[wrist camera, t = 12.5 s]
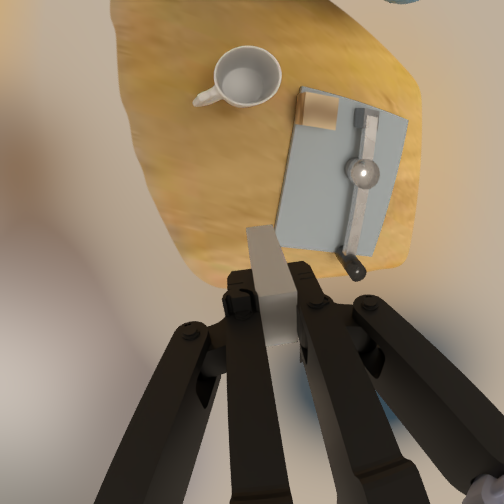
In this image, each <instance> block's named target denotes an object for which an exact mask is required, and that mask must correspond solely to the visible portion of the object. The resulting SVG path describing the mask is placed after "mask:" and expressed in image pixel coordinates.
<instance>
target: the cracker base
mask: <svg viewBox="0 0 504 504" xmlns="http://www.w3.org/2000/svg"><path fill="white" fill-rule="evenodd" d="M303 92H311V93H316V94H321V95H327V96H331V97H336V98H339V105H338V114H337V122H336V130H330V129H324V128H318V127H311V126H305V125H298V124H295V120H294V126H293V132H292V137H291V143H290V148H289V154H288V159H287V164H286V170H285V175H284V180H283V186H282V191H281V196H280V201H279V207H278V212H277V217H276V222H275V227H274V231H275V233H276V236H277V239H278V241H279V244H280V247H289V248H298V249H307V250H317V251H326V252H335V253H336V250H337V248H338V247H340V246H342V245H344V241H345V236H346V231H347V226H348V221H349V215H350V209H351V204H352V197H353V191H354V184H353V183H352V182H351V181H350V180H349V177H348V167H349V165H350V163H351V162H352V161H353V160H354V159H356V158H359V150H360V142H361V133H362V128H357V127H354V119H355V108H368V109H372V110H376V111H380V114H379V124H378V131H377V133H376V141H375V150H374V157H373V161H374V162H375V163H376V164H377V165H378V167H379V170H380V178H379V181H378V183H377V184H376V185H375V186H374V187H373V188H371V189H369V192H368V198H367V203H366V209H365V214H364V219H363V224H362V229H361V234H360V238H359V243H358V247H357V252H356V255H361V256H370V257H372V255H373V252H374V249H375V246H376V243H377V240H378V237H379V234H380V231H381V228H382V225H383V221H384V218H385V215H386V212H387V208H388V205H389V201H390V198H391V194H392V190H393V187H394V183H395V179H396V175H397V171H398V167H399V163H400V159H401V154H402V150H403V145H404V141H405V136H406V131H407V126H408V120H407V119H404V118H402V117H399V116H397V115H394V114H392V113H389V112H386V111H384V110H381V109H378V108H375V107H373V106H370V105H367V104H364V103H361V102H358V101H355V100H351V99H348V98H345V97H342V96H338V95H335V94H331V93H327V92H324V91H320V90H316V89H312V88H308V87H303V86H302V87H300V92H299V94H300V93H303Z"/></svg>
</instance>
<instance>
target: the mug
mask: <svg viewBox="0 0 504 504" xmlns="http://www.w3.org/2000/svg"><path fill="white" fill-rule="evenodd" d="M281 78H282V73H281V68H280V65H279V63H278V61H277V60H276V58H275V57H274V56H273V55H272V54H271V53H269V52H268V51H266V50H264V49H262V48H259V47H256V46H240V47H236V48H233V49H231V50H229V51H228V52H226V53H225V54H224V55H223V56H222V57H221V58H220V59H219V61H218V62H217V64H216V67H215V70H214V82H215V85H214V86H213V87H212V88H210V89H208V90H206V91H203V92H201V93H199V94H198V95H197V97H196V98H195V99H194V100H193V102H192V104H193V106H195V107H200V106H206V105H210V104H213V103H215V102H217V101H219V100H225V101H226V102H227V103H229V104H230V105H232V106H235V107H239V108H246V107H251V106H255V105H258V104H261V103H263V102H265V101H267V100H269V99H270V98H271V97H272V96H273V95H274V94H275V93H276V92H277V90H278V88H279V86H280V83H281Z"/></svg>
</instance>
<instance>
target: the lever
mask: <svg viewBox="0 0 504 504" xmlns="http://www.w3.org/2000/svg"><path fill="white" fill-rule="evenodd" d="M379 114H380V111H376V110H372V109H368V108H355V119H354V127H357V128H362V133H361V142H360V150H359V158H356V159H354V160H353V161H352V162H351V163H350V165H349V167H348V177H349V180H350V181H351V182H352V183H353V184H354V191H353V197H352V204H351V209H350V215H349V221H348V226H347V231H346V236H345V241H344V245H342V246H340V247H338V248H337V250H336V253H335V254H336V257H337V258H338V260H339V261H340V263H341V264H342V266H343V267H344V269H345V270H346V272H347V273H348V275H349V276H350V278H351V279H352V280H353V281H355V282H356V281H360V280H362V279H363V278H364V277H365V275H366V269H365V267H364V266H363V265H362V264H361V262H360V261H359V260H358V259H357V257H356V252H357V247H358V243H359V238H360V234H361V229H362V224H363V219H364V214H365V209H366V203H367V198H368V192H369V189H371V188H373V187H374V186H375V185H376V184H377V183H378V181H379V178H380V170H379V167H378V165H377V164H376V163H375V162H374V161H373V157H374V150H375V141H376V133H377V131H378V124H379Z"/></svg>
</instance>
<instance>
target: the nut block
mask: <svg viewBox="0 0 504 504" xmlns="http://www.w3.org/2000/svg"><path fill="white" fill-rule="evenodd" d="M338 105H339V98H336V97H331V96H327V95H321V94H316V93H311V92H303V93H300V94H298V96H297V106H296V115H295V124H298V125H305V126H311V127H318V128H324V129H330V130H336V122H337V114H338Z"/></svg>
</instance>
